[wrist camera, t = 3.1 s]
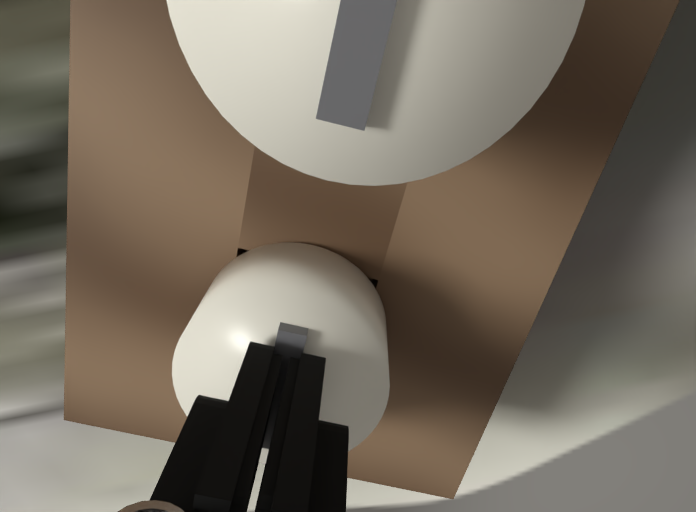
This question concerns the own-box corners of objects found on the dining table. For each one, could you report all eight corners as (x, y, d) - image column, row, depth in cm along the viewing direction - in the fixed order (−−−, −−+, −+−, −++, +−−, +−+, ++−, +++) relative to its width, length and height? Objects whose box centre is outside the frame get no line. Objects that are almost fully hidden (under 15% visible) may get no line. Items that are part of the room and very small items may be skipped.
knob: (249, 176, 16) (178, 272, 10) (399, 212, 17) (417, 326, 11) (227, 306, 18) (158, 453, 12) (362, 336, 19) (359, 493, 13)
